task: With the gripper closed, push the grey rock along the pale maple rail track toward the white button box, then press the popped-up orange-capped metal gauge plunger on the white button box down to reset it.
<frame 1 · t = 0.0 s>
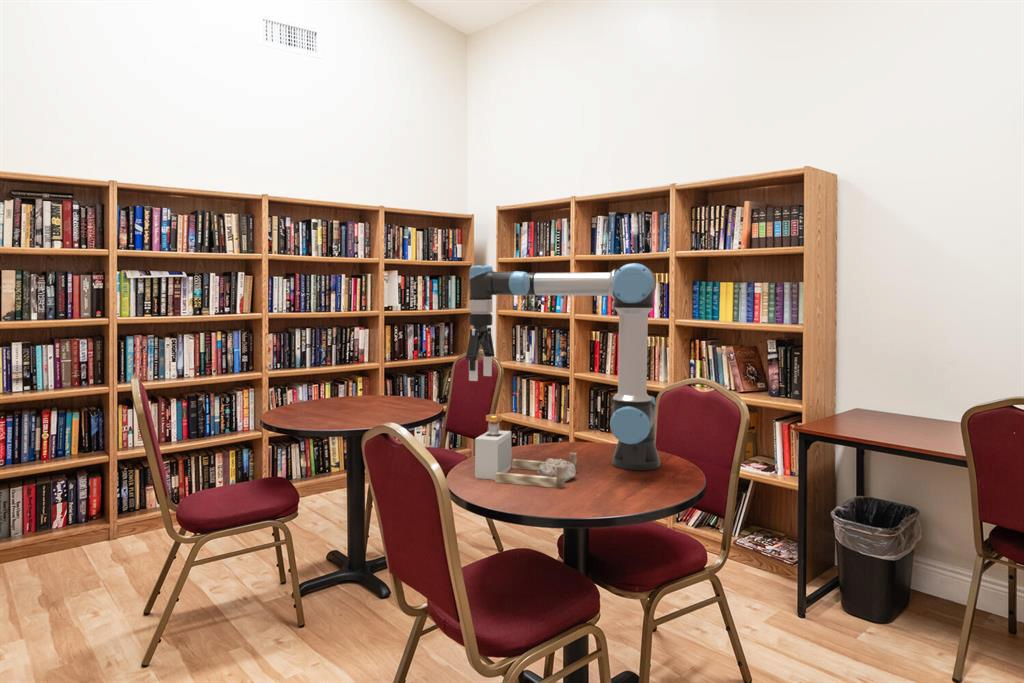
hand: (480, 378, 216), 28 cm above the table, fingers open, 13 cm apart
plunger: (493, 429, 204), point 14 cm above the table, slide at 0.0 cm
track: (537, 476, 201), on the table
rock: (556, 479, 199), on the table
white button box: (493, 473, 205), on the table
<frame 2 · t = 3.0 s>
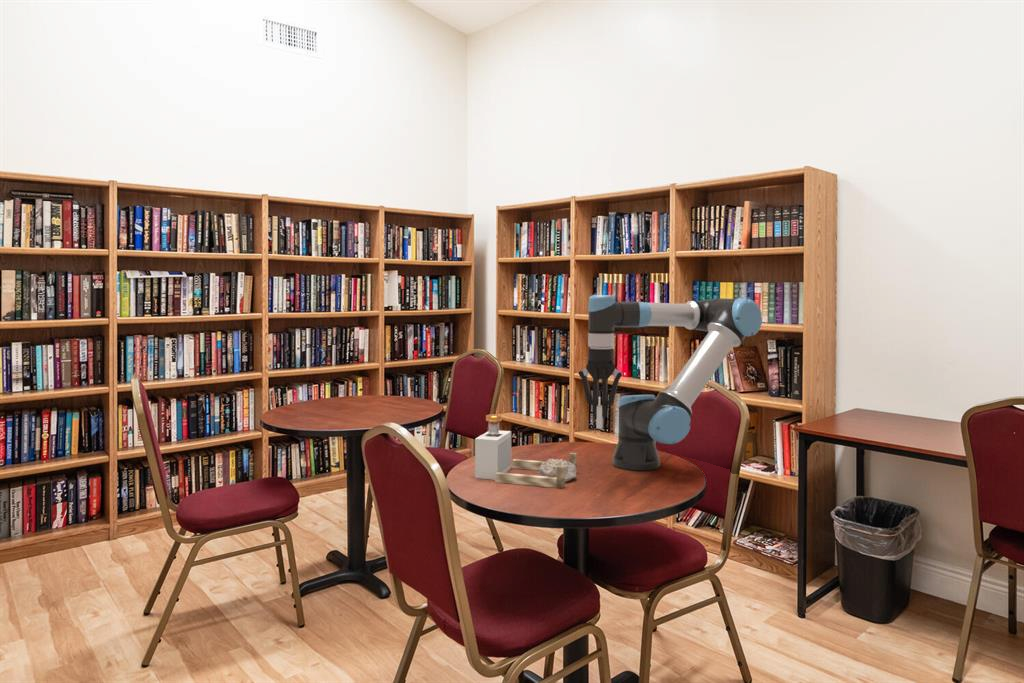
hand: (599, 427, 194), 16 cm above the table, fingers closed
nothing on the table moved.
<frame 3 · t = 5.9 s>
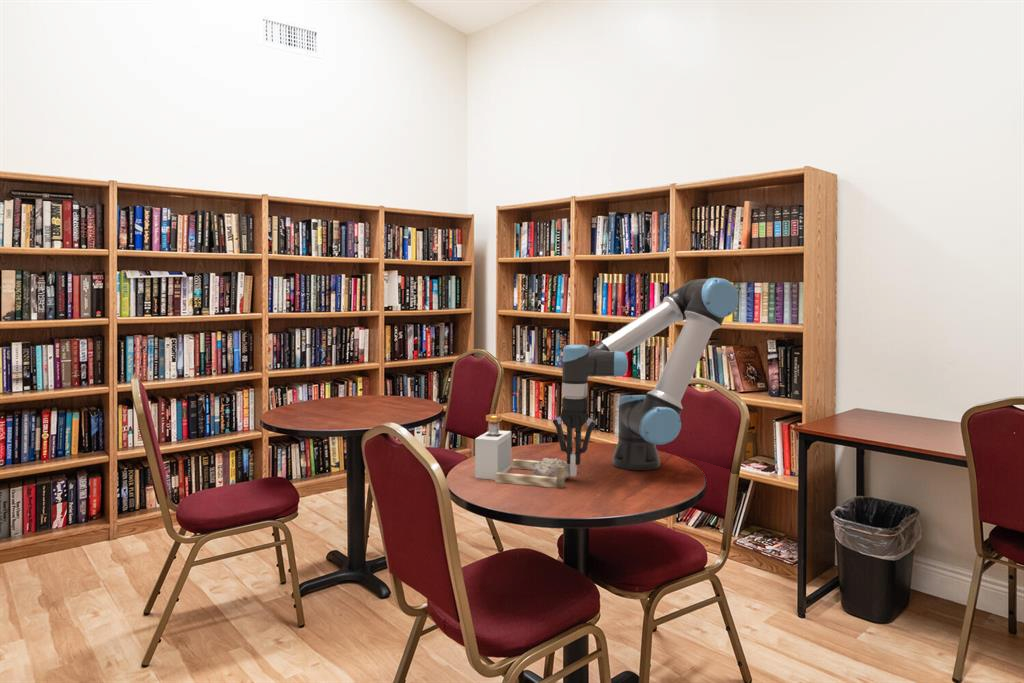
hand: (573, 475, 198), 2 cm above the table, fingers closed
rock: (551, 479, 199), on the table
everything else where it was.
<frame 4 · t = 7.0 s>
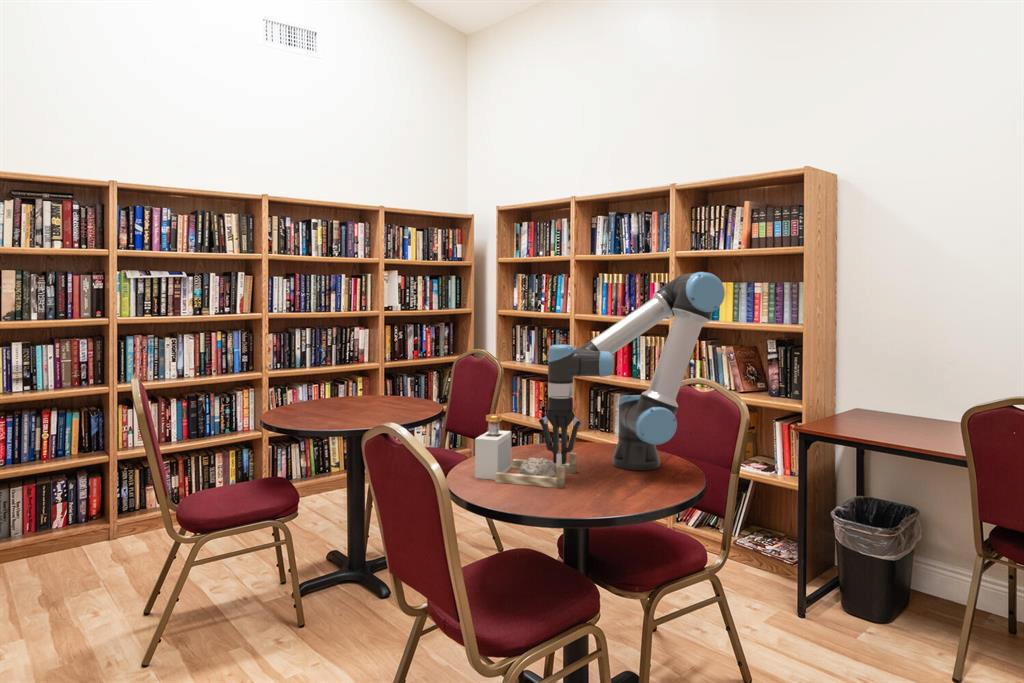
hand: (559, 474, 199), 1 cm above the table, fingers closed
rock: (538, 478, 200), on the table
everything else where it was.
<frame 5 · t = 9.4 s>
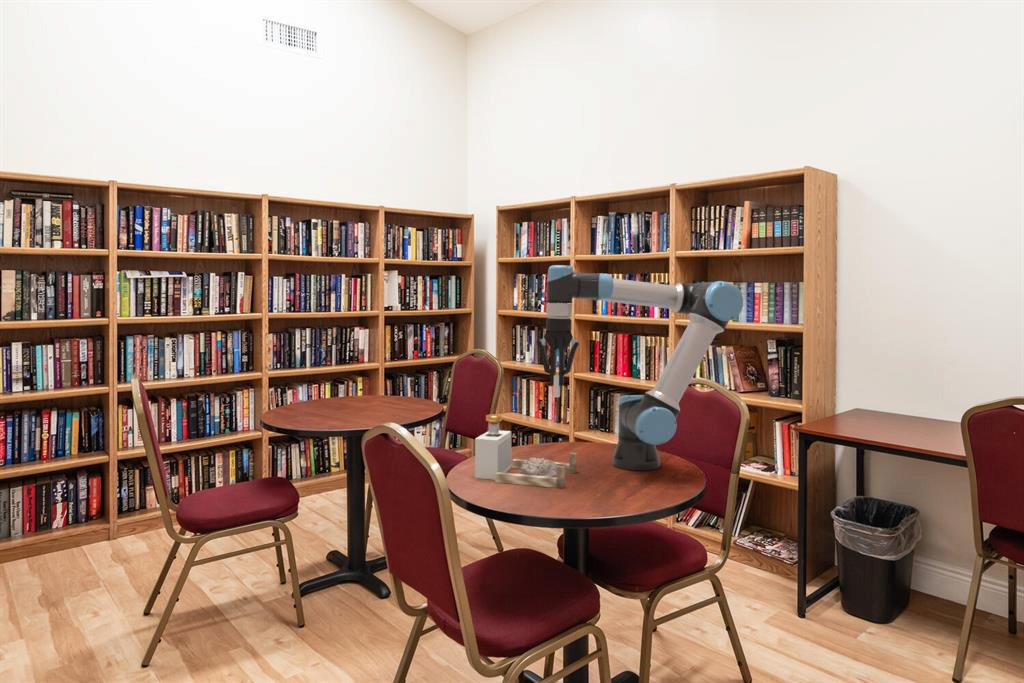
hand: (556, 396, 197), 25 cm above the table, fingers closed
nothing on the table moved.
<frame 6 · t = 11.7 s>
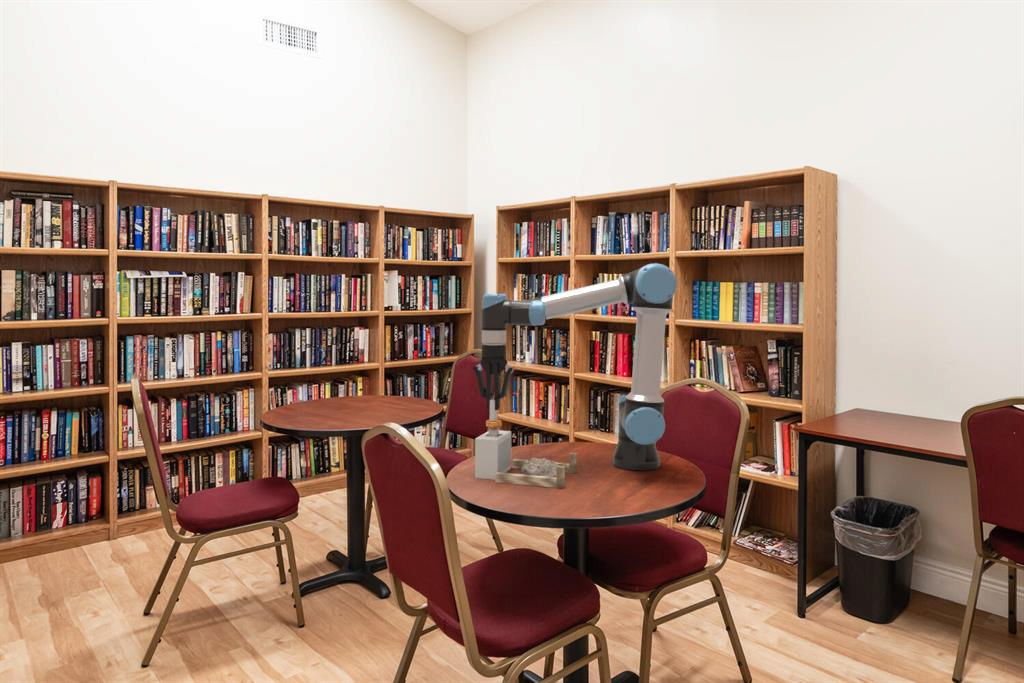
hand: (493, 420, 204), 17 cm above the table, fingers closed
plunger: (493, 434, 205), point 12 cm above the table, slide at -1.7 cm, touching gripper
everything else where it was.
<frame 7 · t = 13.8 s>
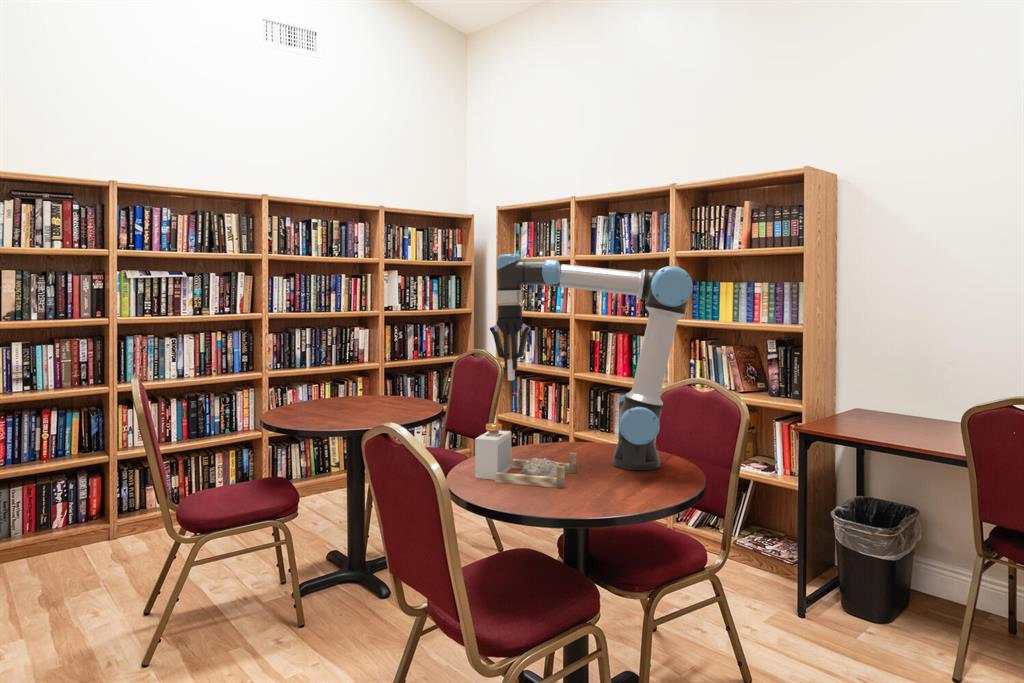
hand: (511, 379, 207), 29 cm above the table, fingers closed
plunger: (493, 438, 205), point 11 cm above the table, slide at -2.8 cm
everything else where it was.
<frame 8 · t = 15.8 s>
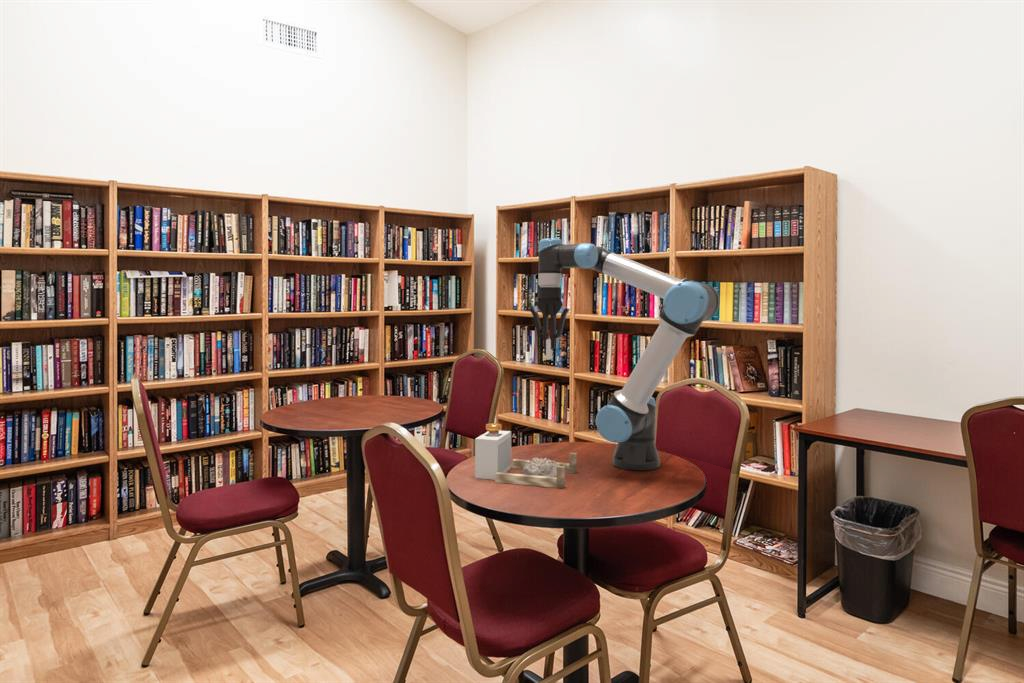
hand: (549, 359, 216), 34 cm above the table, fingers closed
nothing on the table moved.
at the end: rock inside the target area (5.1 cm from its centre), on the table; rock moved 4.5 cm from its start; plunger slide at -2.8 cm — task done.
